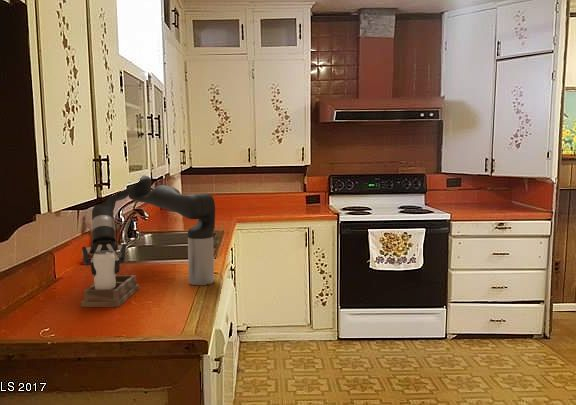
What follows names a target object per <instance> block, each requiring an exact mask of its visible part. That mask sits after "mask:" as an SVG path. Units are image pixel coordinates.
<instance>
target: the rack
mask: <svg viewBox="0 0 576 405" xmlns="http://www.w3.org/2000/svg"><path fill="white" fill-rule="evenodd" d="M115 279H116V287H115V288H114V289H105V290H96V289H95V285H94V283H93V284H91V285H90V286H89V287H87V288H86V289H84V290H83V300H82V301H80V307H81V308H98V307H99V308H102V307H104V308H109V307H112V308H113V307H114V308H116V307H117V308H118V307H119V308H120V307H121V306H122V305H123V304H124V303H125V302H126V301H128V299H130V297H132V296H133V295H134V294H135V293H136V292H138V290H140V284H139V283H138V284H137V275H136V274H133V275H132V274H131V275H129V274H125V275H124V274H123V275H122V274H121V275H119V274H115Z"/></svg>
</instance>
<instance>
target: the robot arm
mask: <svg viewBox="0 0 576 405" xmlns="http://www.w3.org/2000/svg"><path fill="white" fill-rule="evenodd" d="M142 175H143V176H142V177H141V178H140V181H139V182H138V184H135V185H132V186H129V187H128V188H127V189H126V190H124V191H122V192H119V193H117V194H115V195H113V196H111V197H109V198H108V199H107V200H106V201H105V202H103V203H101V204H98V205H95V206H92V207H93V208H92V210H91V221H92V222H91V245H90V246H88V247H86V246H82V248H81V249H82V256H83V262H84V265H85V266H90V273H91V275H93V277H94V276H95V275H96V270H95V268H94V262H93V257H94V255H95V252H97V251H103V250H110V251H113V254H114V256H115V275H119V274H118V273H120V271H121V270H120V268H121V267H120V264H121V263H122V264H123V263H125V261H126V260H125V259H126V250H127V244H126V243H123V244H118V243H117V239H116V238H117V237H116V224H115V217H114V210H115V208H116V204H117V202H119V201H122V200H125V199H126V198H129V199H130V200H131V201H134V202H138V203H143V204H144V203H145V204H149V205H152V206H153V207H157V208H160V209H163V210H167V211H171V212H173V213H177V214H179V215H180V216H183V217H184V218H187V219H189V220H198V221H197V222H196V224H195V225H194V226H192V227H190V228H189V229H188V230H187V254H188V255H187V256H188V257H187V258H188V259H187V260H188V261H187V262H188V284H189V285H192V286H206V285H207V284H208V285H211V284H213V283H215V263H214V261H215V260H214V259H215V258H214V232H215V228H216V227H215V225H216V224H215V223H216V202H215V199H214V197H213V196H212V194H210V193H205V192H203V193H191V194H184V193H183V194H182V193H181V192H180V191H179V190H178V188H176V187H173V186H170V185H166V184H162V185H161V184H160V185H158V186H156V187H154V188H153V189H152V179H151V177H150V176H147V175H145V174H142ZM117 250H119V252H120V257H118V254H117V253H116V252H117ZM90 252H92V253H93V255H92V258H91V259H89V256H88V255H89V254H90ZM208 285H207V286H208Z"/></svg>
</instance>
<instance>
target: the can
mask: <svg viewBox="0 0 576 405" xmlns="http://www.w3.org/2000/svg"><path fill="white" fill-rule="evenodd" d="M93 255H94V254H93ZM92 258H93V262H94V268H95V270H96V275H95V276H94V275H93V282H94V283H93V284H94V285H95V289H96V290H105V289H114V288H115V287H116V279H115V275H116V274H115V256H114V254H113V251H110V250H103V251H97V252H95V255H94V257H93V256H92Z"/></svg>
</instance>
